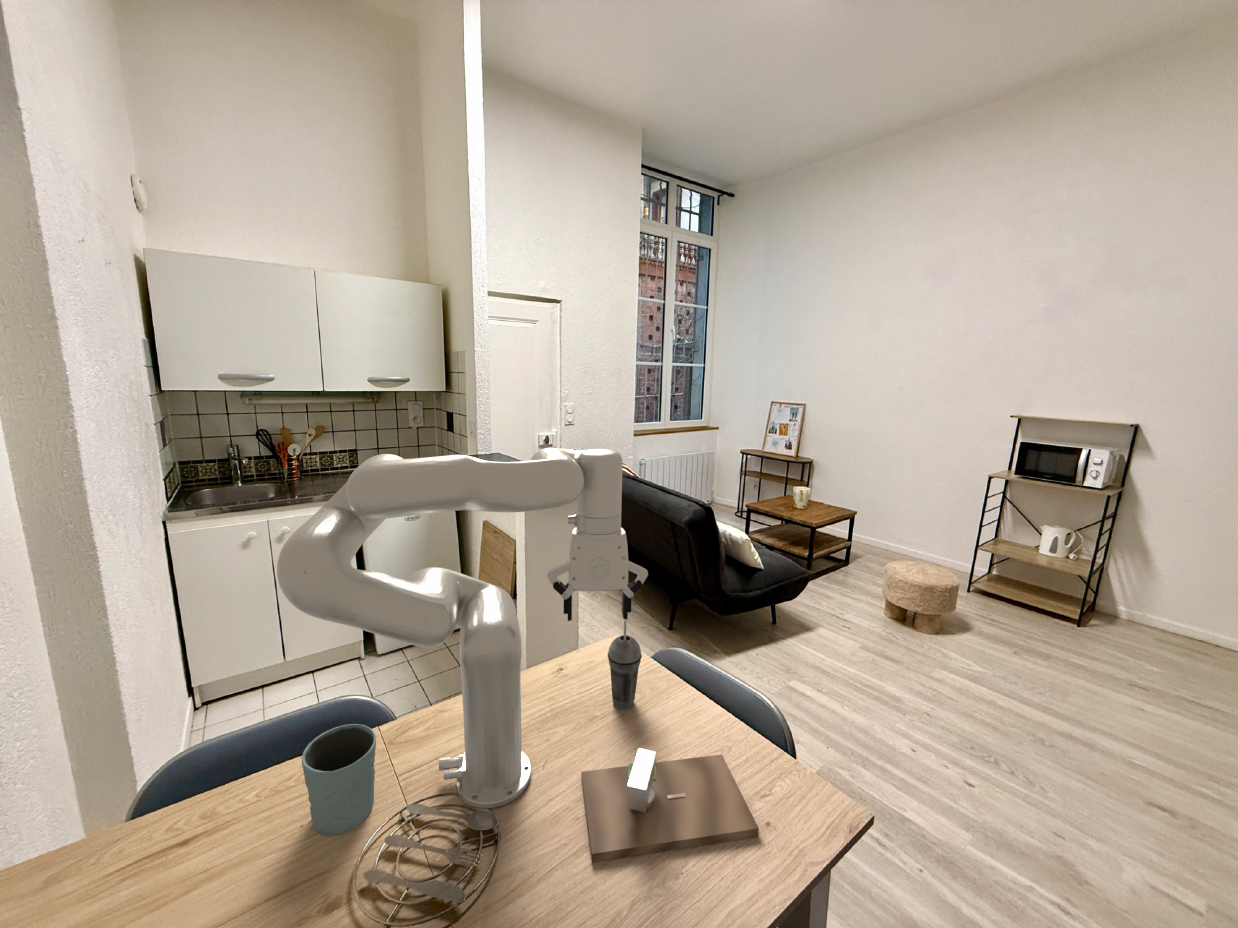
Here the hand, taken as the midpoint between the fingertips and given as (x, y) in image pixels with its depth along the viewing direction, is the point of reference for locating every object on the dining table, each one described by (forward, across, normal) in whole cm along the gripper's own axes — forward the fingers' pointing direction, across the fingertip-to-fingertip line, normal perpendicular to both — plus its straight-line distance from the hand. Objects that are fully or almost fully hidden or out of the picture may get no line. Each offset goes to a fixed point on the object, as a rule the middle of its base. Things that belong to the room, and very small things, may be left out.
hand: (597, 616), depth 85 cm
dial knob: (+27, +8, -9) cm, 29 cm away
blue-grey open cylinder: (+28, -40, -9) cm, 50 cm away
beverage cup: (+28, +7, +15) cm, 33 cm away
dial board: (+28, +11, -11) cm, 32 cm away
